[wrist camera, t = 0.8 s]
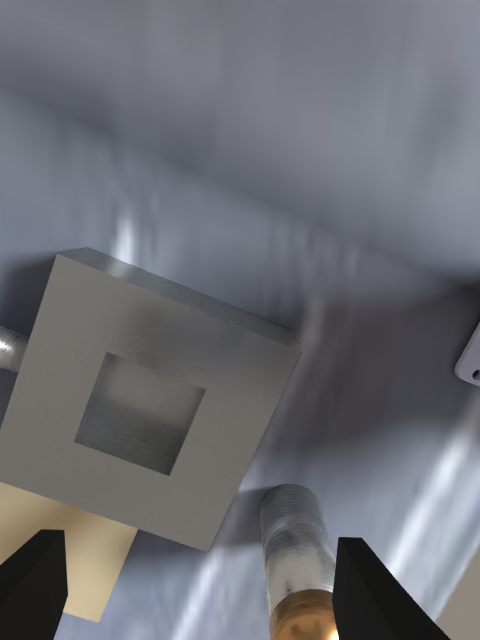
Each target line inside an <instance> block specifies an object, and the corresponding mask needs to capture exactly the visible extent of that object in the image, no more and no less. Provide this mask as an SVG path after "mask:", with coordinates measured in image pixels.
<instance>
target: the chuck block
mask: <svg viewBox="0 0 480 640" xmlns="http://www.w3.org/2000/svg"><path fill="white" fill-rule="evenodd" d="M301 353H302V351H301V349H300V347H299V345H298V343H297V342H296V340H295V338H294V336H293V334H292V332H291V330H289V329H287V328H284V327H282V326H280V325H277V324H275V323H272V322H270V321H267V320H265V319H262V318H260V317H257V316H255V315H253V314H250V313H248V312H245V311H243V310H240V309H238V308H235V307H233V306H230V305H228V304H226V303H223V302H221V301H218V300H216V299H213V298H211V297H208V296H206V295H203V294H201V293H198V292H196V291H194V290H191V289H189V288H186V287H184V286H181V285H179V284H176V283H174V282H171V281H169V280H167V279H164V278H162V277H159V276H157V275H154V274H152V273H149V272H147V271H144V270H142V269H140V268H137V267H135V266H132V265H130V264H127V263H125V262H122V261H120V260H117V259H115V258H113V257H110V256H108V255H105V254H103V253H100V252H98V251H95V250H93V249H90V248H88V247H87V248H82V249H77V250H72V251H67V252H62V253H57V256H56V259H55V262H54V265H53V268H52V271H51V274H50V277H49V280H48V283H47V286H46V290H45V293H44V296H43V299H42V302H41V305H40V308H39V311H38V314H37V317H36V320H35V324H34V327H33V330H32V333H31V336H30V337H29V336H26V335H23V334H21V333H18V332H15V331H13V330H10V329H7V328H5V327H2V326H0V367H1V368H3V369H6V370H9V371H11V372H14V373H17V374H18V376H17V379H16V382H15V385H14V388H13V392H12V395H11V398H10V401H9V404H8V407H7V410H6V413H5V416H4V419H3V422H2V426H1V429H0V482H2V483H5V484H8V485H11V486H14V487H17V488H20V489H23V490H26V491H29V492H32V493H35V494H37V495H40V496H43V497H46V498H49V499H52V500H55V501H58V502H61V503H64V504H67V505H70V506H73V507H76V508H79V509H81V510H84V511H87V512H90V513H93V514H96V515H99V516H102V517H105V518H108V519H111V520H114V521H117V522H120V523H123V524H125V525H128V526H131V527H134V528H137V529H140V530H143V531H146V532H149V533H152V534H155V535H158V536H161V537H164V538H167V539H169V540H172V541H175V542H178V543H181V544H184V545H187V546H190V547H193V548H196V549H199V550H202V551H205V552H208V551H209V549H210V547H211V545H212V543H213V541H214V538H215V536H216V534H217V532H218V530H219V528H220V526H221V523H222V521H223V519H224V517H225V515H226V513H227V511H228V509H229V506H230V504H231V502H232V500H233V498H234V496H235V494H236V492H237V489H238V487H239V485H240V483H241V481H242V479H243V477H244V475H245V472H246V470H247V468H248V466H249V464H250V462H251V460H252V458H253V455H254V453H255V451H256V449H257V447H258V445H259V443H260V441H261V438H262V436H263V434H264V432H265V430H266V428H267V426H268V424H269V421H270V419H271V417H272V415H273V413H274V411H275V409H276V407H277V404H278V402H279V400H280V398H281V396H282V394H283V392H284V389H285V387H286V385H287V383H288V381H289V379H290V377H291V375H292V372H293V370H294V368H295V366H296V364H297V362H298V360H299V358H300V355H301Z"/></svg>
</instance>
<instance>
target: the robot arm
mask: <svg viewBox="0 0 480 640" xmlns="http://www.w3.org/2000/svg"><path fill="white" fill-rule="evenodd" d="M476 370H479V373H478V375H477V376H476V377H472V375H473V373H474V371H476ZM455 374H456V375H457V376H458V377H459V378H461V379H462V380H464V381H466V382H469V383H471V384H474V385H476V386H478V387H480V322H479V324H478V326H477V328H476V330H475V331H474V333H473V335H472V337H471V339H470V340H469V342H468V344H467V346H466V348H465V349H464V351H463V353H462V355H461V357H460V358H459V360H458V362H457V364H456V366H455ZM67 598H68V582H67V565H66V548H65V531H64V530H51V529H41V530H40V531H38V532H37V533H36V534H35V535H34V536H33V537H31V538H30V539H29V540H28V541H27V542H26V543H25V544H23V545H22V546H21V547H20V548H19V549H18V550H17V551H16V552H14V553H13V554H12V555H11V556H10V557H9V558H8V559H6V560H5V561H4V562H3V563H2V564H1V565H0V640H53V639H54V636H55V634H56V631H57V628H58V625H59V622H60V619H61V616H62V613H63V610H64V607H65V604H66V601H67ZM332 606H333V612H334V617H335V623H336V629H337V634H338V639H339V640H450V638H448V636H447V635H446V634H445V633H444V632H443V631H442V630H441V629H440V628H439V627H438V626H437V625H436V624H435V623H434V622H433V621H432V620H431V619H430V617H429V616H428V615H427V614H426V613H425V612H424V611H423V610H422V609H421V608H420V606H419V605H418V604H417V603H416V602H415V601H414V600H413V599H412V597H411V596H410V595H409V594H408V593H407V592H406V591H405V589H404V588H403V587H402V586H401V585H400V584H399V582H398V581H397V580H396V579H395V578H394V576H393V575H392V574H391V573H390V572H389V570H388V569H387V568H386V567H385V566H384V564H383V563H382V562H381V561H380V559H379V558H378V557H377V556H376V554H375V553H374V552H373V551H372V549H371V548H370V547H369V546H368V545H367V543H366V542H365V541H364V540H363V539H362V538H353V537H339V539H338V548H337V557H336V567H335V576H334V585H333V594H332Z"/></svg>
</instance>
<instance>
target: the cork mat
mask: <svg viewBox="0 0 480 640" xmlns="http://www.w3.org/2000/svg"><path fill="white" fill-rule="evenodd" d="M41 529H51V530H64V531H65V548H66V565H67V582H68V598H67V601H66V604H65V607H64V610H63V612H65V613H68V614H72V615H75V616H78V617H81V618H84V619H87V620H91V621H94V622H97V623H99V621H100V618H101V616H102V614H103V611H104V609H105V606H106V604H107V602H108V599H109V597H110V595H111V592H112V590H113V587H114V585H115V583H116V580H117V578H118V576H119V573H120V571H121V569H122V566H123V564H124V561H125V559H126V557H127V554H128V552H129V550H130V547H131V545H132V543H133V540H134V538H135V535H136V533H137V531H138V529H137V528H134V527H131V526H128V525H125V524H123V523H120V522H117V521H114V520H111V519H108V518H105V517H102V516H99V515H96V514H93V513H90V512H87V511H84V510H81V509H79V508H76V507H73V506H70V505H67V504H64V503H61V502H58V501H55V500H52V499H49V498H46V497H43V496H40V495H37V494H35V493H32V492H29V491H26V490H23V489H20V488H17V487H14V486H11V485H8V484H5V483H2V482H0V565H1V564H2V563H3V562H4V561H5V560H6V559H8V558H9V557H10V556H11V555H12V554H13V553H14V552H16V551H17V550H18V549H19V548H20V547H21V546H22V545H23V544H25V543H26V542H27V541H28V540H29V539H30V538H31V537H33V536H34V535H35V534H36V533H37V532H38V531H40V530H41Z"/></svg>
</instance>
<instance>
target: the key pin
mask: <svg viewBox="0 0 480 640" xmlns="http://www.w3.org/2000/svg"><path fill="white" fill-rule="evenodd" d="M259 519H260V530H261V541H262V552H263V563H264V574H265V585H266V596H267V607H268V618H269V629H270V640H339V639H338V634H337V629H336V623H335V617H334V612H333V606H332V594H333V585H334V576H335V567H336V558H335V555H334V552H333V548H332V545H331V542H330V539H329V535H328V532H327V529H326V525H325V522H324V519H323V516H322V512H321V509H320V506H319V503H318V500H317V498H316V497H315V495H314V494H313V493H312V492H311V491H310V490H308V489H306V488H305V487H302V486H299V485H292V484H289V485H282V486H279V487H276V488H274V489H273V490H271V491H270V492H268V493H267V494H266V495H265V497H264V498H263V500H262V501H261V504H260V507H259Z"/></svg>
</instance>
